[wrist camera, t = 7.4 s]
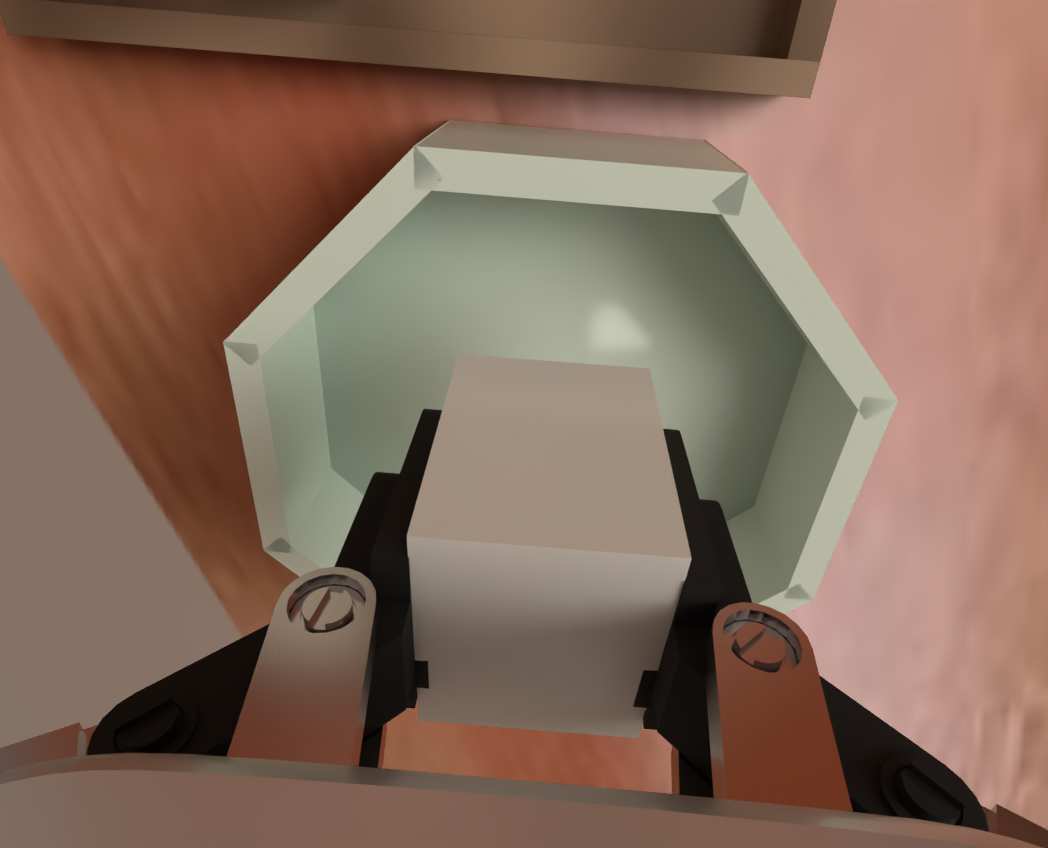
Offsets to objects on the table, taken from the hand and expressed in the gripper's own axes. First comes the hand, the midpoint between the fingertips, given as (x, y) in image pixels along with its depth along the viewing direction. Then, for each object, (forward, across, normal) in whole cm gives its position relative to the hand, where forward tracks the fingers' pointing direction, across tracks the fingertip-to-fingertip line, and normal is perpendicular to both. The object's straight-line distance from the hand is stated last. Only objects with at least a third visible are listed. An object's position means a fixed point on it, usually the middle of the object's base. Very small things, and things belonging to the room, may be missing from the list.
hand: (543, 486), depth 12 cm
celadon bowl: (+8, 0, +2) cm, 8 cm away
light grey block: (+1, 0, 0) cm, 1 cm away
